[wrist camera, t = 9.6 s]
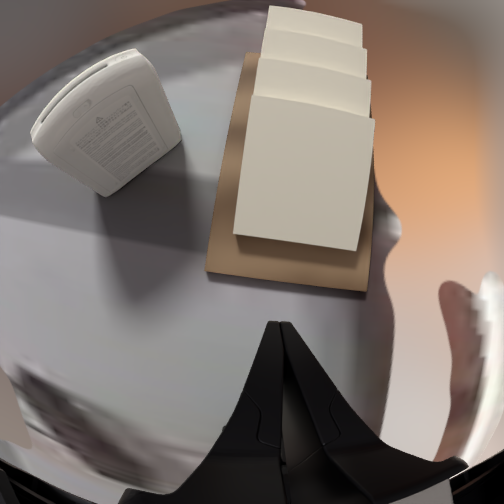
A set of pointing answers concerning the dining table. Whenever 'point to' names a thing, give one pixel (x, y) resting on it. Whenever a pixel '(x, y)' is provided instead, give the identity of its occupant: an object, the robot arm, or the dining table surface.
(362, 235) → the walnut board
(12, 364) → the dining table surface
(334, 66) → the domino
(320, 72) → the domino
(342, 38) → the domino
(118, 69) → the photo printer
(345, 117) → the domino
